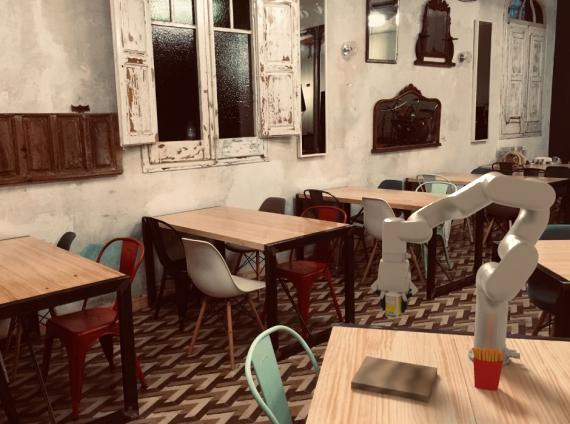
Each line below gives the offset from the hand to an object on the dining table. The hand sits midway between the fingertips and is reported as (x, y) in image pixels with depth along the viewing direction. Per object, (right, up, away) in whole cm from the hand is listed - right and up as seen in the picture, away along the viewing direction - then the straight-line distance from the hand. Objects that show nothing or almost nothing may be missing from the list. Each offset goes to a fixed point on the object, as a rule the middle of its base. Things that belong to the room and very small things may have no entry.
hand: (393, 309), depth 181 cm
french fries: (+23, -19, -19) cm, 35 cm away
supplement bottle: (0, -2, 0) cm, 2 cm away
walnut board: (-3, -18, -15) cm, 24 cm away
